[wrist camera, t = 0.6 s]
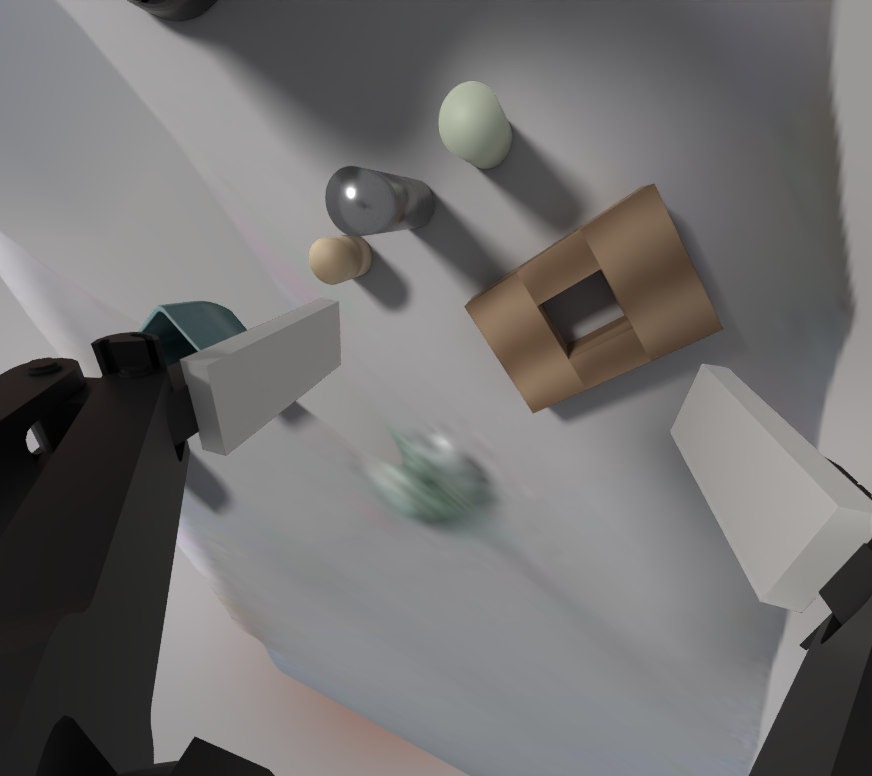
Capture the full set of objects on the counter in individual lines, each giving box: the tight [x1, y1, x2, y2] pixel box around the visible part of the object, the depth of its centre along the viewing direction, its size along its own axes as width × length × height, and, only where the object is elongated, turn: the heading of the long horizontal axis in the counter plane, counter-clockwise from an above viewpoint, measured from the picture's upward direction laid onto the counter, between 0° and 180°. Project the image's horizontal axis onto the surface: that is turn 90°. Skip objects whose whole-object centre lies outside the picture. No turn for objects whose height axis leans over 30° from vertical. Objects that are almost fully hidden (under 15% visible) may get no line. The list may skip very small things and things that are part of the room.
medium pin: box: [439, 81, 512, 169], centre depth 27 cm, size 4×4×8 cm
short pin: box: [309, 235, 372, 285], centre depth 35 cm, size 4×4×5 cm
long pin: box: [325, 166, 435, 236], centre depth 29 cm, size 4×4×12 cm
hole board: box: [464, 184, 723, 413], centre depth 32 cm, size 12×16×4 cm
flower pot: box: [137, 301, 247, 367], centre depth 42 cm, size 9×9×9 cm
